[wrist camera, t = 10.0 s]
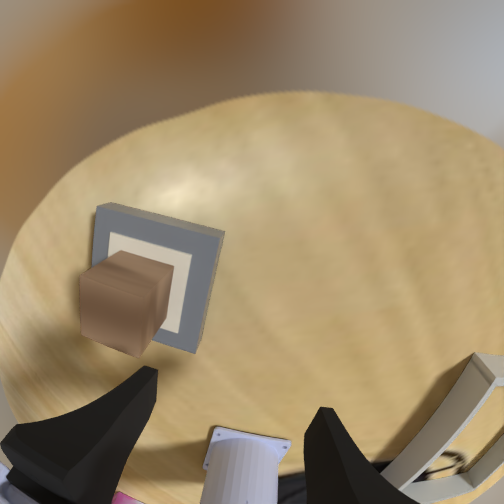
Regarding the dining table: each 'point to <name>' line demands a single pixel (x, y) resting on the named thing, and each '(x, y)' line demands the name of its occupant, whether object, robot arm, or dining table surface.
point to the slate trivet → (170, 252)
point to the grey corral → (451, 437)
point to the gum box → (124, 499)
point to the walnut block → (125, 301)
